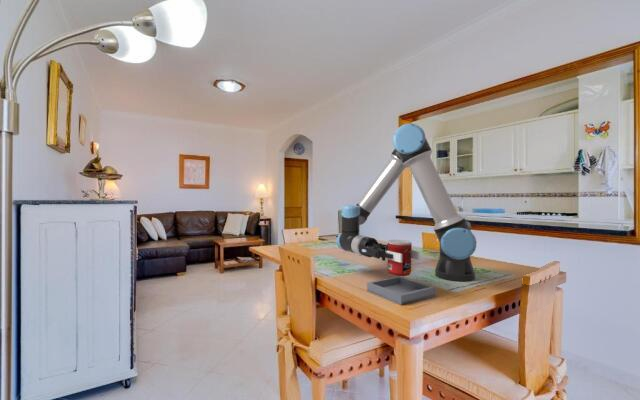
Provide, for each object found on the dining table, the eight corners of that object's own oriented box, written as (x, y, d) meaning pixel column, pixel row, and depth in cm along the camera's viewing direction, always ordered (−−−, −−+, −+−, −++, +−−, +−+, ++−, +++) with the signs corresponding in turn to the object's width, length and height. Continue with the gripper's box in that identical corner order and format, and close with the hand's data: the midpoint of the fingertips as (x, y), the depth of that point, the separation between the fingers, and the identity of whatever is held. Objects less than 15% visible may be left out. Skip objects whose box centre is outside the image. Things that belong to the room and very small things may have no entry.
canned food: (407, 277, 100) (408, 244, 99) (384, 273, 104) (384, 241, 103) (413, 272, 106) (414, 241, 106) (391, 269, 110) (392, 238, 110)
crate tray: (399, 284, 116) (399, 276, 116) (435, 296, 102) (435, 287, 102) (367, 291, 107) (367, 282, 107) (401, 305, 94) (401, 295, 94)
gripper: (384, 253, 125) (430, 264, 106) (344, 258, 115) (387, 272, 95) (384, 235, 125) (431, 243, 106) (344, 238, 114) (387, 248, 95)
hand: (410, 257), depth 101 cm, fingers closed on canned food, 8 cm apart
